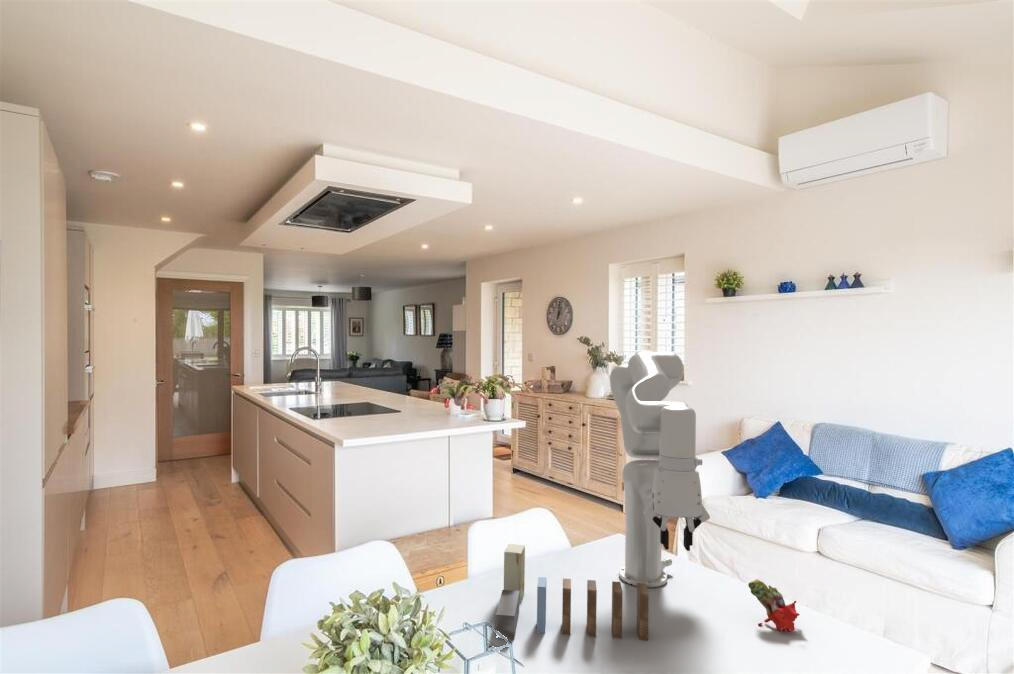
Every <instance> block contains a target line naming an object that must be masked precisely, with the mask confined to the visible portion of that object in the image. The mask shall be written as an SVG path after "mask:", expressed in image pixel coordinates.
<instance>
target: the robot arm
mask: <svg viewBox="0 0 1014 674" xmlns="http://www.w3.org/2000/svg"><path fill="white" fill-rule="evenodd" d="M683 376H684V363H683V360H682V359H681V358H680V356H679V355H678V354H676V353H675V352H674V353H673V352H665V351H664V352H663V351H662V352H661V351H660V352H658V351H642V352H641V351H640V352H637V353H635V354H633V355H632V356H631V357H629V360H628V362H627V363H625V364H619V365H617V366H615V367H613V369H612V370H611V372H610V376H609V384H610V385H609V386H610V392H611V396H612V398H613V400H614V403H615V405H616V407H617V409H618V412H619V415H620V422H621V429H622V430H621V431H622V438H623V440H622V441H623V446H624V450H625V453H626V454H627V456H629V457H631V458H634V459H638V460H631V461H629V462H627V463H626V464H625V465H624V466H623V469H622V481H623V482H622V483H623V489H624V497H625V498H624V500H625V501H624V502H625V503H624V504H625V529H624V530H625V533H624V534H625V535H624V536H625V537H624V538H625V543H624V544H625V546H624V547H625V548H624V566H622V567H621V568H620V569H619V571H618V575H619V579H621V580H622V581H623V582H625V583H626V582H627V583H626V584H629V585H631V584H632V585H631V586H636V587H637V583H645V584H646V587H647V588H658V587H662V586H664V585H665V584H666V583H667V582H668V575H667V573H666V572H664V569H665V568H666V567H670V566H672V564H673V560H672V559H671V558H670V557H667V558H664V559H663V558H662V545H663V548H664V550H666V551H667V550H669V549H670V546H669V545H670V544H669V543H670V532H669V530H668V523H669V518H682V519H683V518H684V520H685V527H684V528H683V547H684V549H685V550H686V551H687V552H690V551H691V547H692V546H693V543H694V542H693V540H694V539H693V535H694V532H695V530H696V529H697V528H699V526H700V525H701V524H702V523H705V522H706V521H708V520H710V518H711V516H710V514H709V512H708V511H707V510H706V508H705V506H704V505H703V497H702V487H701V477H700V473H699V470H698V469H697V468H698V466H702V465H703V459H702V458H698V457H697V456H696V452H697V451H696V449H697V447H696V443H697V442H696V440H697V439H696V438H697V434H696V432H697V416H696V415H697V414H696V411H695V409H693V408H692V407H690V406H689V405H688V404H687V403H685V402H682V401H663V400H664V399H665V398H667V396H668V395H669V393H670V391H671V390H673V389H674V388H675V387H676V386H677V385H678V384H680V382H681V381H682V379H683Z"/></svg>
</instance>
